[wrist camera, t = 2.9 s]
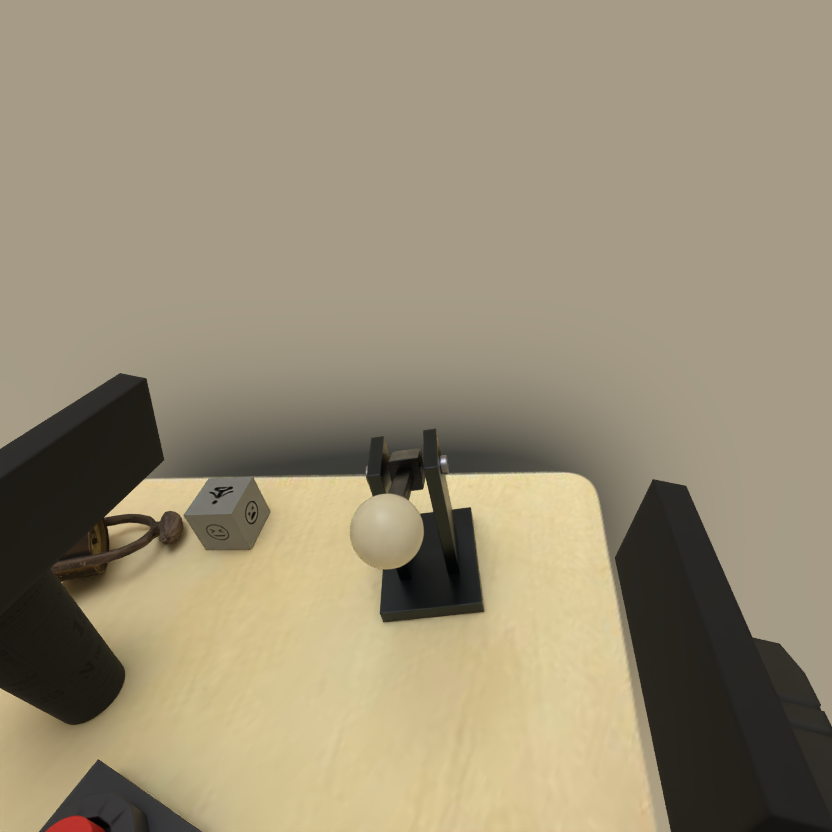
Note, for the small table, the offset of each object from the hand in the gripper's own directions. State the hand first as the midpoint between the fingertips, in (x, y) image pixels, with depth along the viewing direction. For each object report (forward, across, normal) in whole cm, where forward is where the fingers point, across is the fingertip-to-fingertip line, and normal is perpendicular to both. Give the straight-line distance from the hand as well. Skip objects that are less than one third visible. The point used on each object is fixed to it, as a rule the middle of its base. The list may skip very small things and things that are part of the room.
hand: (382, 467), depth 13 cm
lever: (+12, -1, -14) cm, 19 cm away
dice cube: (+22, -19, -31) cm, 42 cm away
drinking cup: (+6, -22, -33) cm, 41 cm away
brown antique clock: (+18, -30, -34) cm, 49 cm away
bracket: (+19, +1, -25) cm, 32 cm away
